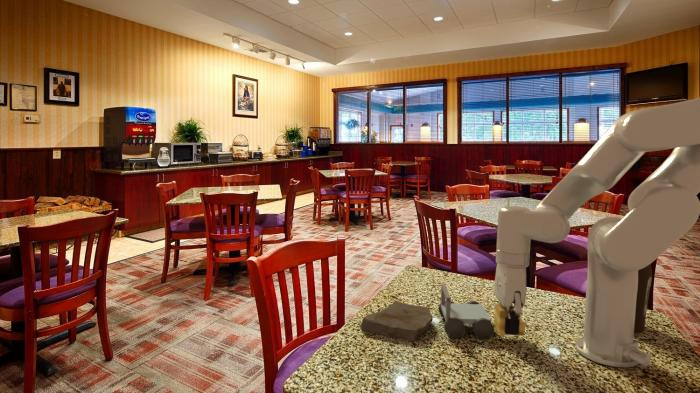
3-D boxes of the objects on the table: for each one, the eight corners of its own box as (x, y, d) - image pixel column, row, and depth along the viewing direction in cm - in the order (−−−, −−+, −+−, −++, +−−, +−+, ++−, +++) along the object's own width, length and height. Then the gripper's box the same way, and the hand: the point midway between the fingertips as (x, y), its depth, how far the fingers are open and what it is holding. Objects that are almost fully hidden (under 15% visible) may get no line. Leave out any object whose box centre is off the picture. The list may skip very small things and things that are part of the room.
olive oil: (602, 330, 104) (609, 235, 101) (596, 314, 114) (601, 227, 111) (652, 337, 100) (660, 239, 97) (641, 320, 109) (648, 230, 106)
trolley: (481, 318, 112) (482, 283, 111) (493, 339, 100) (495, 300, 98) (438, 317, 113) (438, 282, 112) (444, 338, 101) (445, 299, 99)
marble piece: (359, 331, 106) (359, 316, 105) (383, 311, 118) (383, 297, 118) (420, 346, 97) (420, 329, 97) (438, 323, 110) (438, 308, 110)
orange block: (518, 327, 102) (519, 304, 101) (524, 335, 97) (525, 311, 96) (494, 326, 102) (495, 303, 101) (498, 334, 98) (500, 310, 97)
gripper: (487, 248, 106) (484, 314, 108) (506, 267, 89) (502, 345, 92) (517, 249, 105) (513, 315, 108) (541, 268, 89) (536, 346, 91)
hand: (508, 328), depth 100 cm, fingers closed on orange block, 4 cm apart
